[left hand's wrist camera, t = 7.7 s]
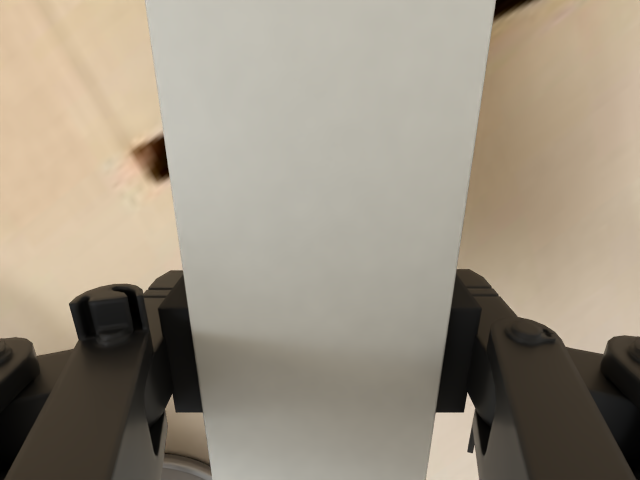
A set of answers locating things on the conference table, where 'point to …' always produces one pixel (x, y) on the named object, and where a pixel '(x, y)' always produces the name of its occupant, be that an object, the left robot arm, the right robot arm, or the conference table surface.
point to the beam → (319, 220)
